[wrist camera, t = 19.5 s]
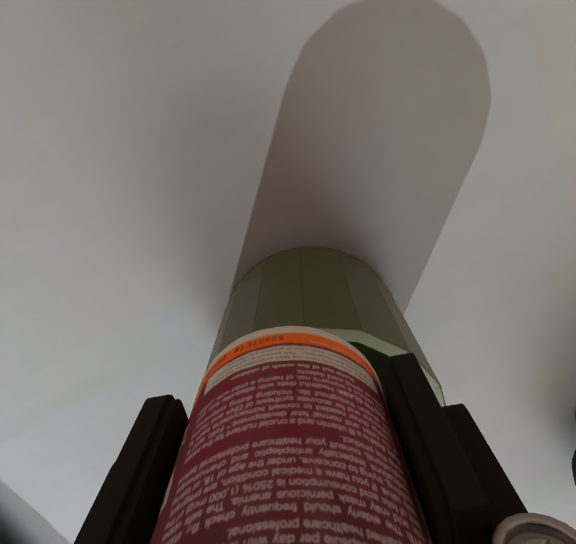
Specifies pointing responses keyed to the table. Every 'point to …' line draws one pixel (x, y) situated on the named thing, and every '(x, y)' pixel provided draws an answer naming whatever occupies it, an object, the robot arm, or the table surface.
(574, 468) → the squash
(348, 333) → the pot
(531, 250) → the table surface
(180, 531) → the pill bottle
